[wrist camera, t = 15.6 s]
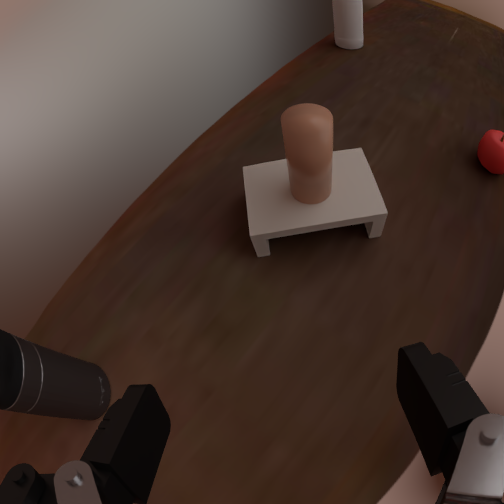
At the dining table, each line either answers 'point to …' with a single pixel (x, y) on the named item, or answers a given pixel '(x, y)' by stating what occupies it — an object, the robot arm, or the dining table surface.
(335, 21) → the bottle
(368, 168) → the white channel block
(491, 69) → the dining table surface
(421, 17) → the dining table surface
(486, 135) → the apple
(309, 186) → the tan rounded-top cylinder
